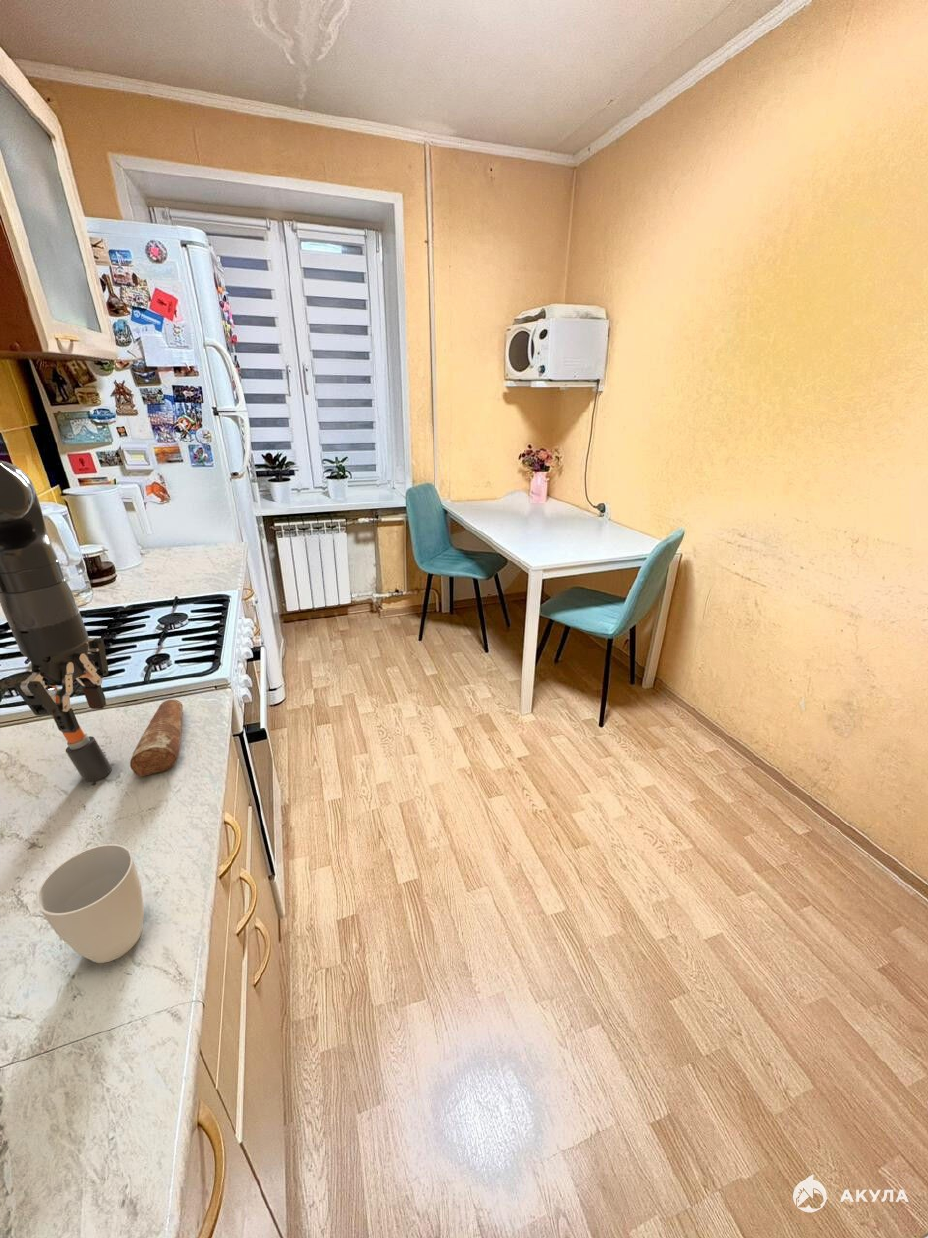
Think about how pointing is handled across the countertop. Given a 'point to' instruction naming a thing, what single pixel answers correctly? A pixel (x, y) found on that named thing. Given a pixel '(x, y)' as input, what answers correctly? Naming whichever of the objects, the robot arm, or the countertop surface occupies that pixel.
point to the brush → (86, 754)
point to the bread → (159, 741)
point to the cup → (95, 902)
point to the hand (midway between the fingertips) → (85, 718)
